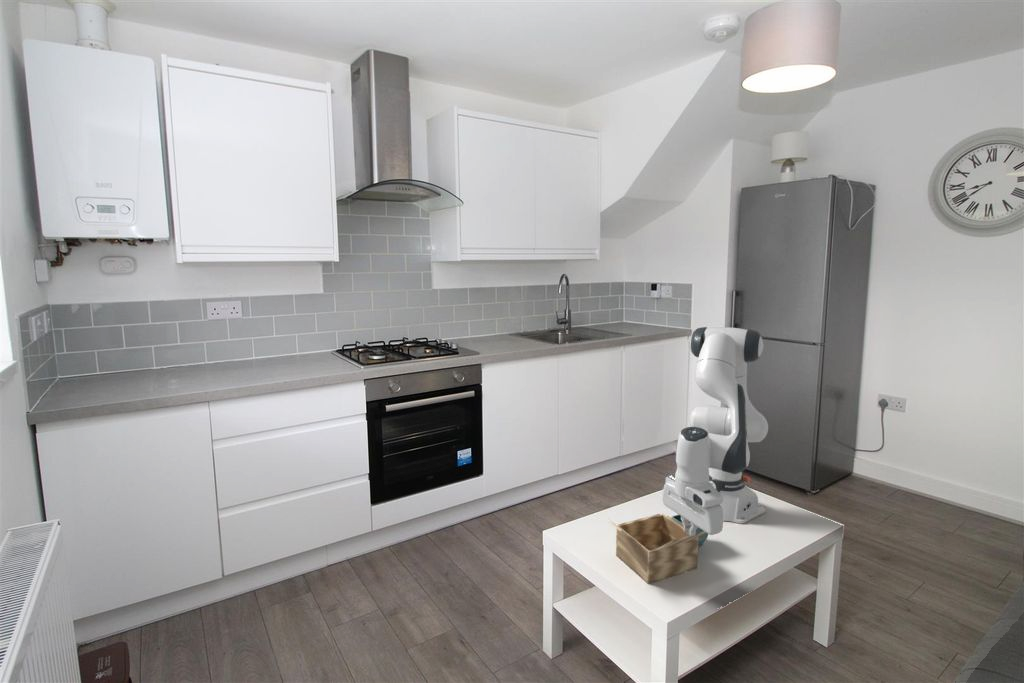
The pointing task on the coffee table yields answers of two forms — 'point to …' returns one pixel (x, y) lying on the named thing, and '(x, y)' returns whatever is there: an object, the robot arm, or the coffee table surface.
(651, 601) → the coffee table surface
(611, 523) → the flap front
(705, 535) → the flower pot
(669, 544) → the flap left
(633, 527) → the open wooden box
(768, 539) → the coffee table surface
